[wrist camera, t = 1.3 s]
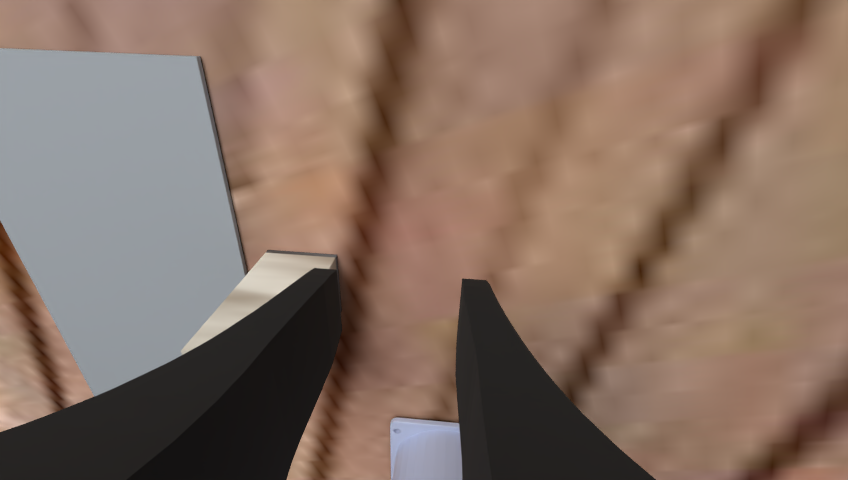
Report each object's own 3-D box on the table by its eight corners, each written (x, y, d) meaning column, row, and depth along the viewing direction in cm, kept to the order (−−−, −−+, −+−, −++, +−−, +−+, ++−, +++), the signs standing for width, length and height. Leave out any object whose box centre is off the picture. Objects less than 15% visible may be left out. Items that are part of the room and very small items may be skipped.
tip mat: (277, 412, 29) (276, 415, 29) (98, 395, 30) (95, 398, 30) (200, 56, 18) (196, 56, 18) (-86, 44, 19) (-94, 44, 18)
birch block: (341, 310, 24) (292, 426, 17) (278, 305, 24) (204, 418, 17) (336, 254, 22) (279, 359, 15) (267, 249, 23) (180, 350, 16)
